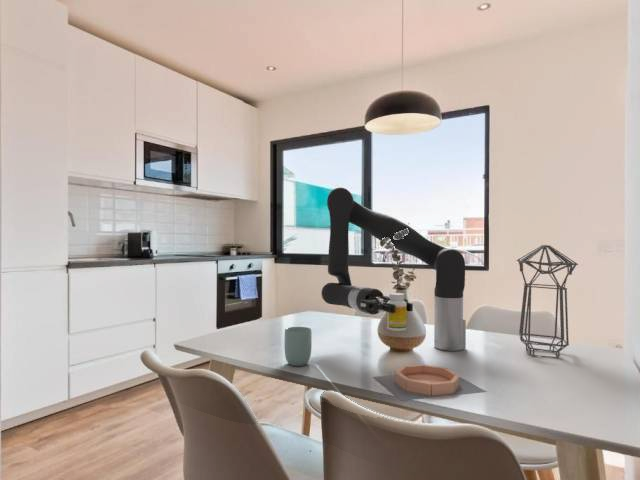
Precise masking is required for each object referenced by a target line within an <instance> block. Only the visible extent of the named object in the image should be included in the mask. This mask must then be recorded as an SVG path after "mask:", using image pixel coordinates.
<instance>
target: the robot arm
mask: <svg viewBox="0 0 640 480" xmlns="http://www.w3.org/2000/svg"><path fill="white" fill-rule="evenodd" d="M326 205H327V209H328V211H329V220H330V221H329V225H330V227H329V228H330V230H329V232H330V233H329V242H328V243H329V244H328V253H327V257H328V258H327V272H328V274H329V275H330V276H332V277H334V278H336V279H337V280H338V282H328V283H325V285H324V286H323V287H322V289H321V298H322V299H323V301H324V302H325V303H326V304H329V305H335V306H343V307H347V308H349V309H353V310H355V311H358V312H362V313H364V314H368V315H372V316H373V315H377V314H379V313H381V312H382V313H384V312H386V313H387V312H390V313H395V305H394V304H390V303H387V302H388V301H390V299H389V295H384V294H383V292H382V291H381V290H379V289H377V288H371V287H367V286H357V285H352V281H351V276H350V272H349V261H350V260H349V259H350V253H349V251H350V247H349V246H350V244H349V243H350V242H349V227H350V224H352V225H354V226H357V227H358V228H360V229H362V230H363V231H365V232H366V233H368V234H369V235H371V236H372V237H374V238H376V239H378V241H381V240H382V238H384V237H385V238H386V237H389V238H390V239H391V242H392V243H393V244H394V246H395V248H394V249H395V250H398V251H400V252H403V253H404V254H407V255H410V256H412V257H413V258H416V259H418V260H420V261H422V262H423V263H424V264H426V265H428V266H429V267H431V268H432V269H433V270H435V273H436V274H435V286H434V301H433V302H434V309H433V310H434V314H433V315H434V316H433V317H434V321H433V322H434V326H433V327H434V328H433V332H434V333H433V336H434V337H433V338H434V339H433V341H434V342H433V343H434V344H433V345H434V348H436V349H438V350H442V351H449V352H450V351H451V352H459V351H462V350H465V349H467V348H466V346H467V345H466V344H467V343H466V342H467V340H466V339H467V337H466V336H467V335H466V334H467V333H466V331H467V329H466V328H467V327H466V325H467V324H466V323H467V321H466V320H465V318H464V290H465V285H466V262H465V261H466V260H465V257H464V256H463V254H462V252H460V251H459V250H456V249H453V248H448V247H447V248H446V247H445V246H443V245H439V244H437V243H435V242H433V241H430V240H429V239H428V238H426V237H424V236H423V235H421V234H420V233H419V232H418V231H417V230H415V229H414V228H413V227H411V226H409V225H408V224H406V223H405V222H403V221H400V220H399V219H398V218H396V217H393V216H391V215H389V214H387V213H382V212H379V211H375V210H372V209H369V208H367V207H365V206H364V205H362V204H360V203H359V202H357V201H356V200H355V199H354V196H353V194H352V193H351V191H350V190H349V189H347V188H345V187H341V186H340V187H335V188H334V189H333V190H331V191H330V193H329V194H328V195H327V199H326ZM406 228H408V230H409V233H408V235H406V236H404V237H403V238H404V239H400V240H394V239H393V236H394V235H395V234H394V233H396V232H399V231H401V230H404V229H406ZM381 242H382V241H381ZM403 301H405V302H406V304H407V312H413V310H414V308H413V307H414V305H413V303H412V302H409V300H408V299H407V298H404V299H403Z"/></svg>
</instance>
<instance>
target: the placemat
mask: <svg viewBox="0 0 640 480" xmlns="http://www.w3.org/2000/svg"><path fill="white" fill-rule="evenodd" d="M372 378H373V379H374V380H375V381H377V382H378V383H379V385H381V386H383V387H384V388H385V389H386V390H388V392H389V393H391V394H392V395H393V396H394V397H396V398H397V399H398V401H401V402H402V401H410V400H412V401H413V400H422V399H430V398H431V399H432V398H439V397H448V396H449V397H450V396H460V395H467V394H468V395H469V394H479V393H487V392H488V391H486V390H485V389H483V388H481V387H480V386H478V385H476V384H474V383H472V382H470V381H468V380H466V379H464V378H462V377H461V376H459V387H458V389H457V390H456V392H455V393H452V394H443V395H433V396H432V395H426V394H420V393H415V392H410V391H407V390H405V389H403V388H402V387H401V386H399V385H398V384H397V383H395V374H394V375H380V376H379V375H378V376H372Z"/></svg>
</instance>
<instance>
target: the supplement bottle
mask: <svg viewBox="0 0 640 480" xmlns="http://www.w3.org/2000/svg"><path fill="white" fill-rule="evenodd" d="M388 297H389V299H390V301H388V302H387V303H390V304H394V305H395V313H390V312H386V314H385V315H386V317H385V318H386V321H385V322H386V325H385V326H386V329H387V330H389V331H394V332H402V331H406V329H407V325H408V324H407V323H408V322H407V318H408V317H407V312H408V311H407V304H406V302H405V301H403V299H405V293H403V292H389V295H388Z"/></svg>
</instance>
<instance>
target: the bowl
mask: <svg viewBox="0 0 640 480" xmlns="http://www.w3.org/2000/svg"><path fill="white" fill-rule="evenodd" d="M394 375H395V383H397V384H398V385H399V386H401V387H402V388H403V389H405V390H407V391H410V392H415V393H420V394H426V395H432V396H433V395H443V394H452V393H455V392H456V390H457V389H458V387H459V377H460V374H458V373H456V372H454V371H452V370H451V369H448V368H446V367H443V366H442V367H441V366H438V365H437V366H435V365H430V364H429V365H428V364H422V363H421V364H413V365H412V364H410V365H403V366H401V367H400V368H398V369H397V370H396V371H395V372H394Z"/></svg>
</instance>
